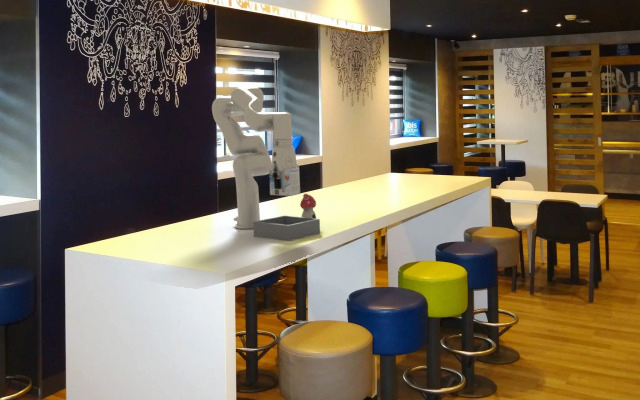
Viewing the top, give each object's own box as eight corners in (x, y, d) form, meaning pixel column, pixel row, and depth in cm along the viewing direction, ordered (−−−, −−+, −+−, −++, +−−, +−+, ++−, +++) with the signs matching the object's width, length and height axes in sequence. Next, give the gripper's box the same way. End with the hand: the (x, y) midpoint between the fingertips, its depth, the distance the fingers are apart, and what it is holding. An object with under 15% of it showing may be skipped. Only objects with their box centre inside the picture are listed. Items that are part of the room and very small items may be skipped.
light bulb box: (269, 195, 282) (268, 168, 281) (279, 193, 288) (278, 167, 286) (291, 196, 276) (290, 168, 275) (300, 193, 282) (299, 167, 281)
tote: (254, 236, 284) (253, 221, 283) (285, 229, 297) (284, 215, 297) (289, 240, 271) (288, 225, 270) (320, 233, 284) (319, 218, 283)
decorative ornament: (308, 229, 295) (307, 194, 293) (296, 228, 298) (294, 193, 296) (321, 226, 302) (320, 191, 300) (309, 225, 306) (308, 191, 304)
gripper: (273, 145, 270) (276, 190, 273) (304, 142, 283) (306, 185, 286) (260, 145, 275) (262, 189, 278) (291, 142, 288) (293, 185, 291)
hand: (284, 187), depth 282 cm, fingers closed on light bulb box, 7 cm apart
